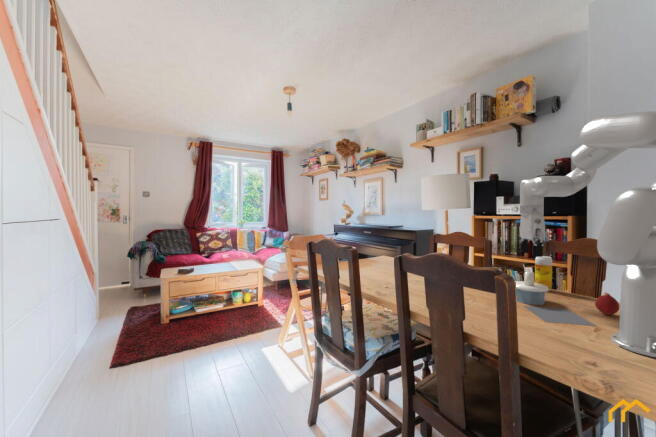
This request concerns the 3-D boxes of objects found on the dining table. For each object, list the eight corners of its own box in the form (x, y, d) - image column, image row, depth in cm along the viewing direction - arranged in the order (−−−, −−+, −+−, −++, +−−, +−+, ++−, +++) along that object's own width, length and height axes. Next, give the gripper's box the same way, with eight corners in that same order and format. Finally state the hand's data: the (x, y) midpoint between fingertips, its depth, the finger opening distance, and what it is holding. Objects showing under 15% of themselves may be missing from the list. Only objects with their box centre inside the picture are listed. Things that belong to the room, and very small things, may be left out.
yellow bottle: (531, 288, 129) (532, 256, 128) (540, 287, 130) (541, 255, 130) (544, 292, 123) (546, 258, 122) (554, 291, 125) (555, 257, 124)
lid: (555, 293, 104) (555, 276, 103) (519, 291, 106) (519, 275, 106) (538, 284, 115) (538, 269, 115) (505, 282, 118) (506, 268, 118)
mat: (596, 327, 87) (596, 325, 87) (545, 323, 90) (545, 321, 90) (566, 309, 102) (566, 308, 102) (523, 306, 105) (523, 305, 105)
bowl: (550, 306, 105) (550, 292, 105) (520, 304, 107) (520, 290, 107) (536, 298, 115) (536, 284, 115) (509, 296, 117) (509, 283, 117)
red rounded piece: (608, 312, 99) (609, 290, 99) (623, 319, 93) (625, 295, 93) (590, 312, 99) (591, 290, 99) (604, 318, 94) (605, 295, 93)
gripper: (555, 210, 100) (554, 258, 101) (531, 211, 117) (530, 251, 117) (531, 210, 102) (531, 257, 102) (511, 211, 119) (510, 251, 119)
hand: (530, 254), depth 110 cm, fingers open, 9 cm apart
